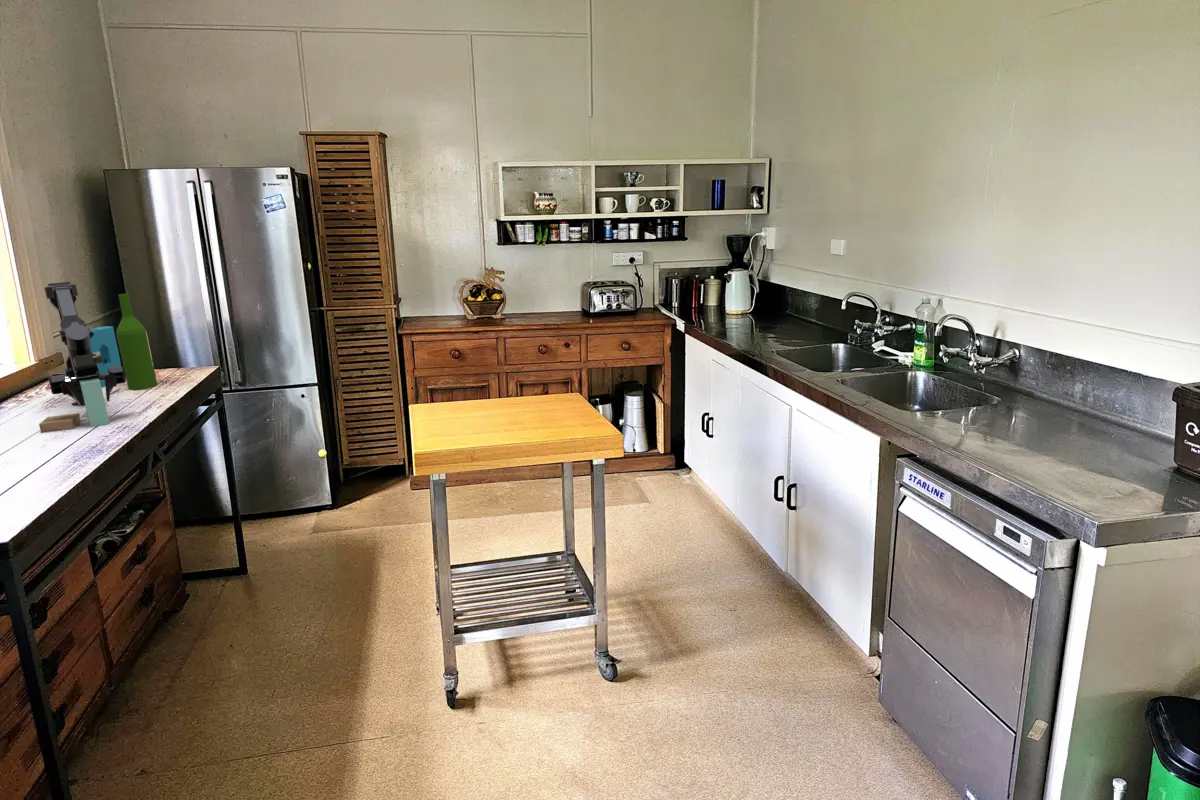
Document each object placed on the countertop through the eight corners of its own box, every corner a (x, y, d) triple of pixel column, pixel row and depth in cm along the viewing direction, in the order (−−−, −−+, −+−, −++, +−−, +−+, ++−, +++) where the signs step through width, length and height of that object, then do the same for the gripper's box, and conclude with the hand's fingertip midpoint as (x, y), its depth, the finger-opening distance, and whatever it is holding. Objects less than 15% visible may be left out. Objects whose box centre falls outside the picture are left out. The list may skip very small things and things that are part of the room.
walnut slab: (50, 426, 227) (47, 416, 226) (81, 422, 230) (79, 413, 229) (41, 434, 220) (38, 424, 219) (73, 430, 222) (71, 420, 221)
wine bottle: (162, 385, 271) (143, 292, 262) (136, 391, 264) (116, 296, 255) (149, 382, 276) (130, 291, 267) (123, 388, 269) (102, 295, 260)
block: (97, 389, 270) (84, 332, 265) (86, 388, 271) (73, 332, 266) (126, 380, 281) (114, 326, 276) (115, 380, 282) (103, 326, 277)
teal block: (89, 423, 227) (79, 381, 223) (107, 420, 229) (98, 378, 226) (91, 427, 223) (81, 383, 220) (109, 423, 226) (99, 380, 222)
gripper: (41, 349, 217) (53, 393, 212) (117, 339, 228) (130, 381, 223) (46, 371, 226) (57, 415, 220) (119, 361, 237) (132, 402, 231)
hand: (95, 403), depth 223 cm, fingers open, 6 cm apart
